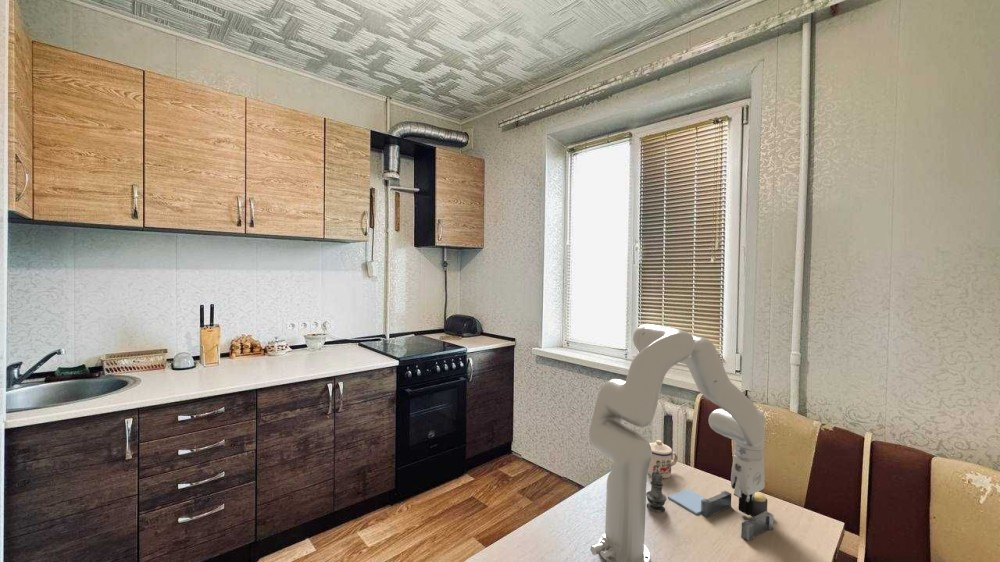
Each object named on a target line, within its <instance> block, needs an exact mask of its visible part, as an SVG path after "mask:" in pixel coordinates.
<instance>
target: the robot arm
mask: <svg viewBox="0 0 1000 562" xmlns="http://www.w3.org/2000/svg"><path fill="white" fill-rule="evenodd" d="M632 335H633V336H632V342H633V345H634V347H635V348H636V350H637V351H639V353H637V354H636V355H635V356H634V357H633V360H632V361H631V363H630V366H629V368H628V373H627V375H626V379H625V380H623V379H619V378H613V379H609V380H608V381H606V382H605V383H604V384H603V385H602V386H601V388H600V389H599V392H598V394H597V397H596V401H595V406H594V409H593V414H592V418H591V420H590V421H591V422H590V426H589V431H588V432H589V433H588V437H589V438H588V439H589V442H590V444H591V446H592V447H593V448H594V450H595V451H596V452H598V453H600V454H601V455H603V456H604V457H605V458H607V460H609V461H611V462H612V464H613V466H612V469H611V470H610V471H609V473H608V475H607V480H606V495H605V496H606V501H605V525H604V527H605V529H604V530H605V531H604V532H605V533H604V534H602V535H601V538H599V541H598V543H596V544H594V545H591V546H590V551H591V554H592V555H594V556H596V555H598V554H600V556H601V558H603V560H604V561H606V562H651V553H650V550H649V548H648V547H647V546H646V544H645V534H646V533H645V532H646V531H645V530H646V527H645V526H646V508H647V503H646V502H647V501H646V500H647V496H646V493H647V482H648V475H649V474H648V470H649V466H650V463H651V458H652V449H651V446H650V444H649V443H650V441H648V439H646V438H645V436H644V435H643V434H640V433H639V432H638V431H636V430H634V429H633V428H631V427H629V426H626V425H625V424H623V423H622V421H625V422H627V423H629V424H630V425H633V426H636V427H640V428H643V427H647V426H649V425H651V423H652V421H653V420H654V417H655V414H656V411H657V406H658V403H659V402H658V401H659V397H660V393H661V389H662V386H663V382H664V379H665V377H666V375H667V373H668V372H669V371H670V370H671V369H672V368H673V367H674V366H676V365H677V364H683V365H686V366H687V368H688V370H689V372H690V374H691V376H692V378H693V381H694V384H695V385H696V387H697V389H698V392H700V394H701V395H702V396H703V397H704V398H707V399H708V400H709V401H710V402H712V403H713V404H715V405H716V406H717V407H719V408H717V409H714V410H713V411H711V413H710V414H709V415H708V419H707V420H708V424H709V425H708V426H709V427H710V429H711V430H713V431H714V432H715V433H716V434H719V435H721V436H723V437H725V438H728V439H731V440H733V449H732V450H733V451H732V453H733V460H732V466H731V472H730V473H731V474H730V486H731V488H732V489H733V490H734V491H733V496H735V497H737V498H738V511H739V512H741V513H743V514H745V515H747V516H751V515H750V514H752V513H753V501H752V500H754V496H755V493H756V492H761V491H762V490H764V489H765V486H766V485H765V483H766V480H765V478H766V473H765V472H766V471H765V470H766V469H765V462H764V461H765V459H764V450H765V449H764V448H765V446H764V445H765V437H766V430H765V429H766V428H765V425H766V424H765V423H766V416H765V414H764V413H763V412H761V411H760V410H758V408H757V407H756V406H755V404H754V403H753V402H752V401H751V400H750V399H749V397H747V396H746V395H745V394H744V392H742V391H741V390H740V388H738V387H737V386H736V385H735V384H734V383H733V382H732V381H731V380H730V378H729V376H728V374H727V371H726V368H725V367H724V364H723V362H722V359H721V358H720V355H719V353H718V351H717V349H716V348H717V347H716V346H715V344H714V343H713V342H712V341H711V340H710V339H708V338H706V337H703V336H700V335H699V336H698V335H693V334H690V333H689V332H688V331H685V330H682V329H679V328H675V327H670V326H662V325H656V324H651V323H650V324H649V323H645V324H642V325H640V326H639V327H637V328H636V329H635V331H634V332H633V334H632Z"/></svg>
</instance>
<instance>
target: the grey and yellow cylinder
mask: <svg viewBox="0 0 1000 562" xmlns="http://www.w3.org/2000/svg"><path fill="white" fill-rule="evenodd" d="M752 501H753V513H752V514H750V515H749V516H753V517H755V516H757V515H759V514H761V513H763V512H765V511H767V512H768V498H767V497H766V496H765V494H763V493H761V492H760V491H758V492H756V493H755V496H754V500H752Z"/></svg>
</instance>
